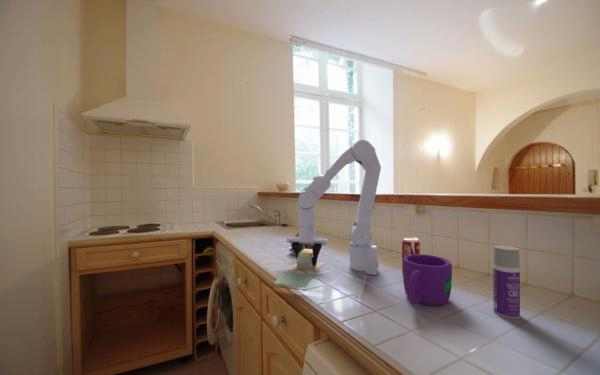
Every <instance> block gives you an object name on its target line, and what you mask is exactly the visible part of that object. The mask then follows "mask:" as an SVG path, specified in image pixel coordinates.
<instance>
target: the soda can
mask: <svg viewBox="0 0 600 375" xmlns="http://www.w3.org/2000/svg"><path fill="white" fill-rule="evenodd" d="M401 253H402V255H401V256H402V258H401V260H402V262H401V263H402V264H401V265H402V266H401V268H402V272H401V273H402V275H403V258H404V257H405V256H407V255H414V254H421V243H420V241H419V238H417V237H403V240H402V242H401Z"/></svg>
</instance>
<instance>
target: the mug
mask: <svg viewBox="0 0 600 375" xmlns="http://www.w3.org/2000/svg"><path fill="white" fill-rule="evenodd" d="M452 265H453V264H452V262H451V261H450V260H448V259H447V258H443V257H440V256H436V255H430V254H422V253H420V254H414V255H407V256H405V257H404V258H403V274H402V280H403V288H404V293H405V295H406V296H407V297H408V298H409V301H410V303H411V304H413V305H418V304H422V305H426V306H443V305H445V304H446V303H448V302H449V301H450V297H451V294H452V292H451V291H452V283H453V282H452V280H453V278H452V277H453V273H452V272H453V266H452Z"/></svg>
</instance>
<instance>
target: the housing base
mask: <svg viewBox="0 0 600 375" xmlns="http://www.w3.org/2000/svg"><path fill="white" fill-rule="evenodd" d="M296 263H297V269H302V270H312V269H313V267H314V266H313V255H312V256H311V257H310V258H305V257H299V256H298V257H297V258H296Z"/></svg>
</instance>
